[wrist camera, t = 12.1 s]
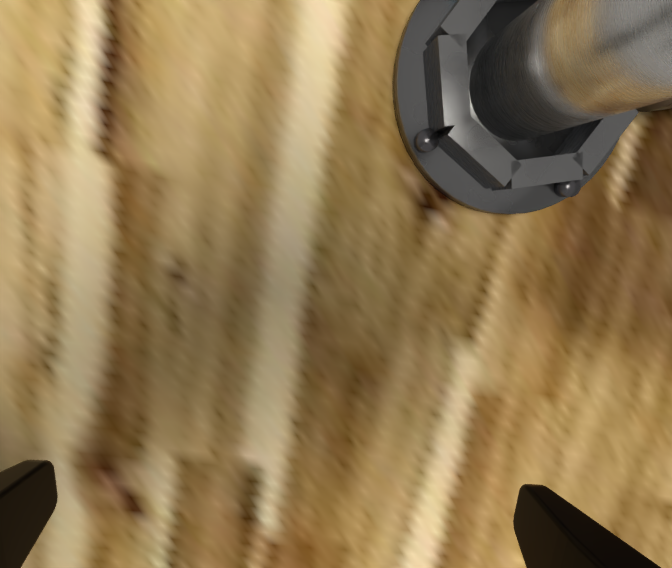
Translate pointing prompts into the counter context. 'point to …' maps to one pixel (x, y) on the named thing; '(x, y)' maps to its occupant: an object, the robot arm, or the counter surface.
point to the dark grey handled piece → (467, 131)
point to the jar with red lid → (572, 65)
